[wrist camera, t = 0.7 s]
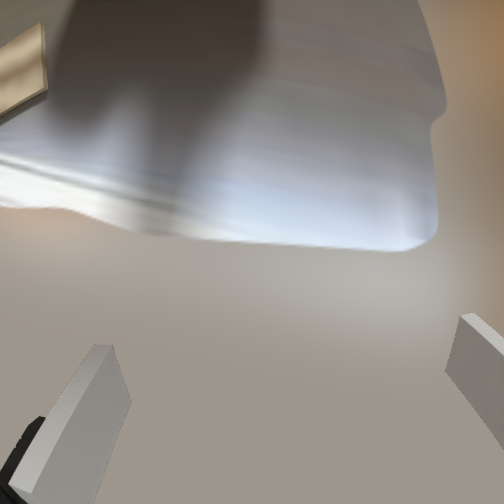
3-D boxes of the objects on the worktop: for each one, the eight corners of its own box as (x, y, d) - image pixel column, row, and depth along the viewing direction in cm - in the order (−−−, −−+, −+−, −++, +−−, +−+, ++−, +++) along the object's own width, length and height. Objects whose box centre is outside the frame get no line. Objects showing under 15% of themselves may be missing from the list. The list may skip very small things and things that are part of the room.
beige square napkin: (-8, 59, 28) (-13, 57, 27) (44, 24, 28) (40, 22, 27) (-6, 120, 31) (-11, 120, 30) (48, 89, 31) (43, 87, 30)
